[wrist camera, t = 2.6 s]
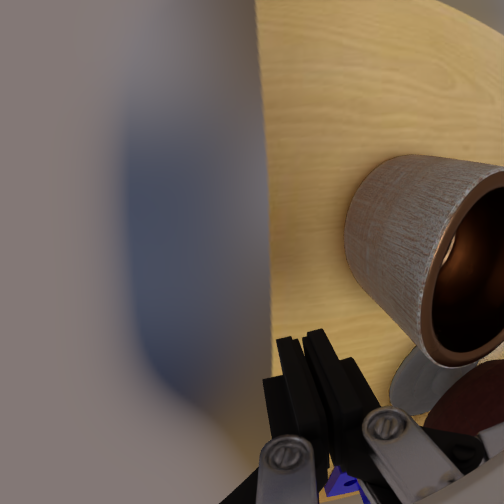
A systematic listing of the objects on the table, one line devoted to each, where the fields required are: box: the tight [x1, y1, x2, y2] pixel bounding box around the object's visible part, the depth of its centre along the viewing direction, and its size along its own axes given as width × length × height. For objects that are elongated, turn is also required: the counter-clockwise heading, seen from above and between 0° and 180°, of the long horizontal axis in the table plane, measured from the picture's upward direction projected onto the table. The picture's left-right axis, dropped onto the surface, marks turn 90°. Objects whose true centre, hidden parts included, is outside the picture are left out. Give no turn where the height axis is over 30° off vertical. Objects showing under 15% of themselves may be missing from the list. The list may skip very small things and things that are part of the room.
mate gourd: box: [389, 346, 504, 436], centre depth 16 cm, size 16×14×20 cm
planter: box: [344, 155, 504, 368], centre depth 15 cm, size 11×11×10 cm
